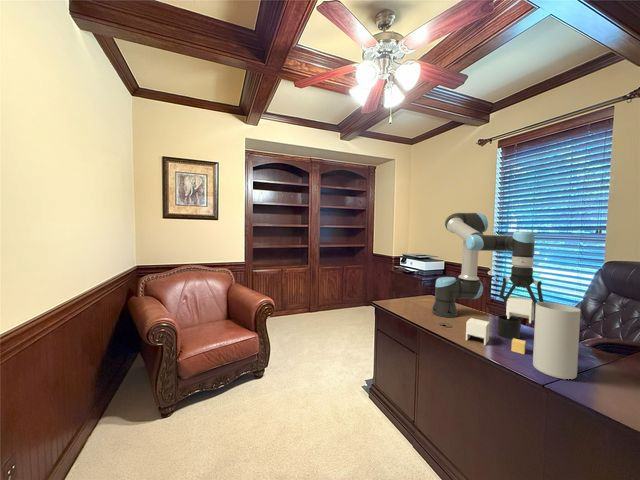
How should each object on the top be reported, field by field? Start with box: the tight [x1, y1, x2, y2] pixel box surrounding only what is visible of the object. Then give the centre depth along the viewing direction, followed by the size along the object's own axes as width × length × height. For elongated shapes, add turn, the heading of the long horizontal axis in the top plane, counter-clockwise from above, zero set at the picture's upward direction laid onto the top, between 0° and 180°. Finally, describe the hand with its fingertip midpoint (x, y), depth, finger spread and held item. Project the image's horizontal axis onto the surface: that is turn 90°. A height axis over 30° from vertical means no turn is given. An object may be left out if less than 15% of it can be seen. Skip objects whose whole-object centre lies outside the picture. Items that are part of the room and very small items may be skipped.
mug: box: [496, 315, 522, 340], centre depth 134 cm, size 9×12×9 cm
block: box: [510, 338, 527, 355], centre depth 116 cm, size 4×4×4 cm
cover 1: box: [465, 317, 491, 346], centre depth 127 cm, size 8×8×9 cm
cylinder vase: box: [532, 301, 581, 381], centre depth 99 cm, size 12×12×25 cm
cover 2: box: [506, 295, 534, 324], centre depth 116 cm, size 8×8×9 cm
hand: (519, 317), depth 116 cm, fingers closed on cover 2, 8 cm apart
